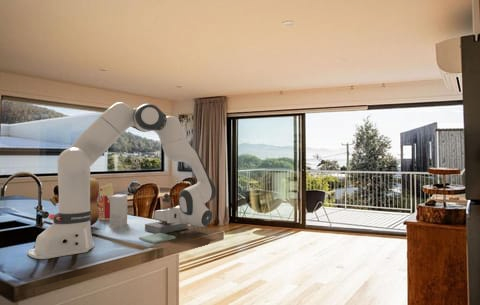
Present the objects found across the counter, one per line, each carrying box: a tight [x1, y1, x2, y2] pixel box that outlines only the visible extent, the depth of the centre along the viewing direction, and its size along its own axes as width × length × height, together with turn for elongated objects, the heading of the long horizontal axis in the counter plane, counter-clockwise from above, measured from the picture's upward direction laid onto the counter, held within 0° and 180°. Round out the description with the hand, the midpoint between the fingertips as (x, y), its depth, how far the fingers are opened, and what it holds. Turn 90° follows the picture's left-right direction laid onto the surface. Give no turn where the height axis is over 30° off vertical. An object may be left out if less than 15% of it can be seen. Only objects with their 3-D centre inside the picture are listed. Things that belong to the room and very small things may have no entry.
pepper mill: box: [160, 193, 172, 225], centre depth 168 cm, size 5×5×18 cm
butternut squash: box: [90, 177, 100, 226], centre depth 172 cm, size 14×13×25 cm
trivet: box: [138, 233, 176, 244], centre depth 149 cm, size 11×11×1 cm
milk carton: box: [98, 182, 115, 221], centre depth 197 cm, size 9×9×20 cm
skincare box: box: [109, 193, 128, 228], centre depth 177 cm, size 8×7×16 cm
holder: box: [144, 220, 188, 234], centre depth 168 cm, size 16×12×3 cm
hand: (165, 210), depth 168 cm, fingers closed on pepper mill, 5 cm apart
